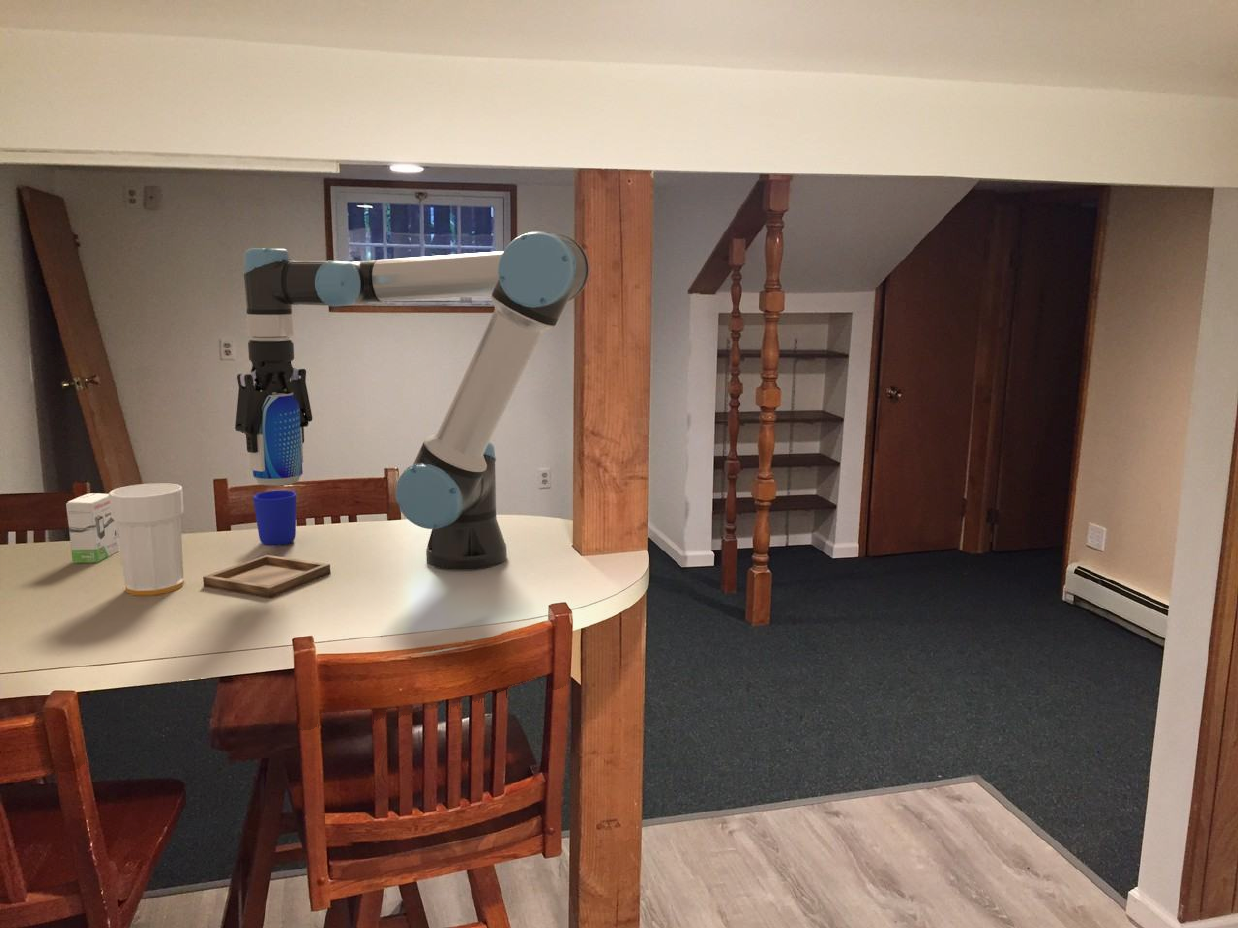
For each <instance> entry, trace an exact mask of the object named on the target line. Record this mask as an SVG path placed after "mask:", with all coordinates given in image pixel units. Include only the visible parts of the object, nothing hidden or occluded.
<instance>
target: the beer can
mask: <svg viewBox="0 0 1238 928" xmlns="http://www.w3.org/2000/svg"><path fill="white" fill-rule="evenodd" d="M262 418H263V420H262V423H261V427H260V430H259V433H258V434H263V442H264V460H265V471H262V472H261V471H254V470H252V476H253V477H254V479H255V480H256V481H257V484H259V485H262V486H286V485H291V484H292V485H293V484H295V483H298V482H299V480H300V478H301V477H302V475H303V472H304V471H303V463H302V451H301V430H300V409H299V404H298V402H297V401H296V399H295V398H294V396H293V392H292V393H290V394H285V393H276V392H274V393H272V395H269V396H267V398H266V400H265V402H264V405H263V407H262ZM252 427H253V426H252Z"/></svg>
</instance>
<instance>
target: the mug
mask: <svg viewBox="0 0 1238 928" xmlns="http://www.w3.org/2000/svg"><path fill="white" fill-rule="evenodd" d="M252 499H253V505H254V506H253V507H254V512H255V513H254V514H255V518H256V527H257V531H258V537H259V540H260V542H261V544H263V545H265V546H271V547H279V546H285V545H288V544H291V543H293V542H295V539H296V535H297V534H296V533H297V531H296V529H297V528H296V527H297V493H296V492H295V491H294V490H271V491H270V490H269V491H268V490H267V491H262V492H258V493H256V494H254V495H253V496H252Z"/></svg>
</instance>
